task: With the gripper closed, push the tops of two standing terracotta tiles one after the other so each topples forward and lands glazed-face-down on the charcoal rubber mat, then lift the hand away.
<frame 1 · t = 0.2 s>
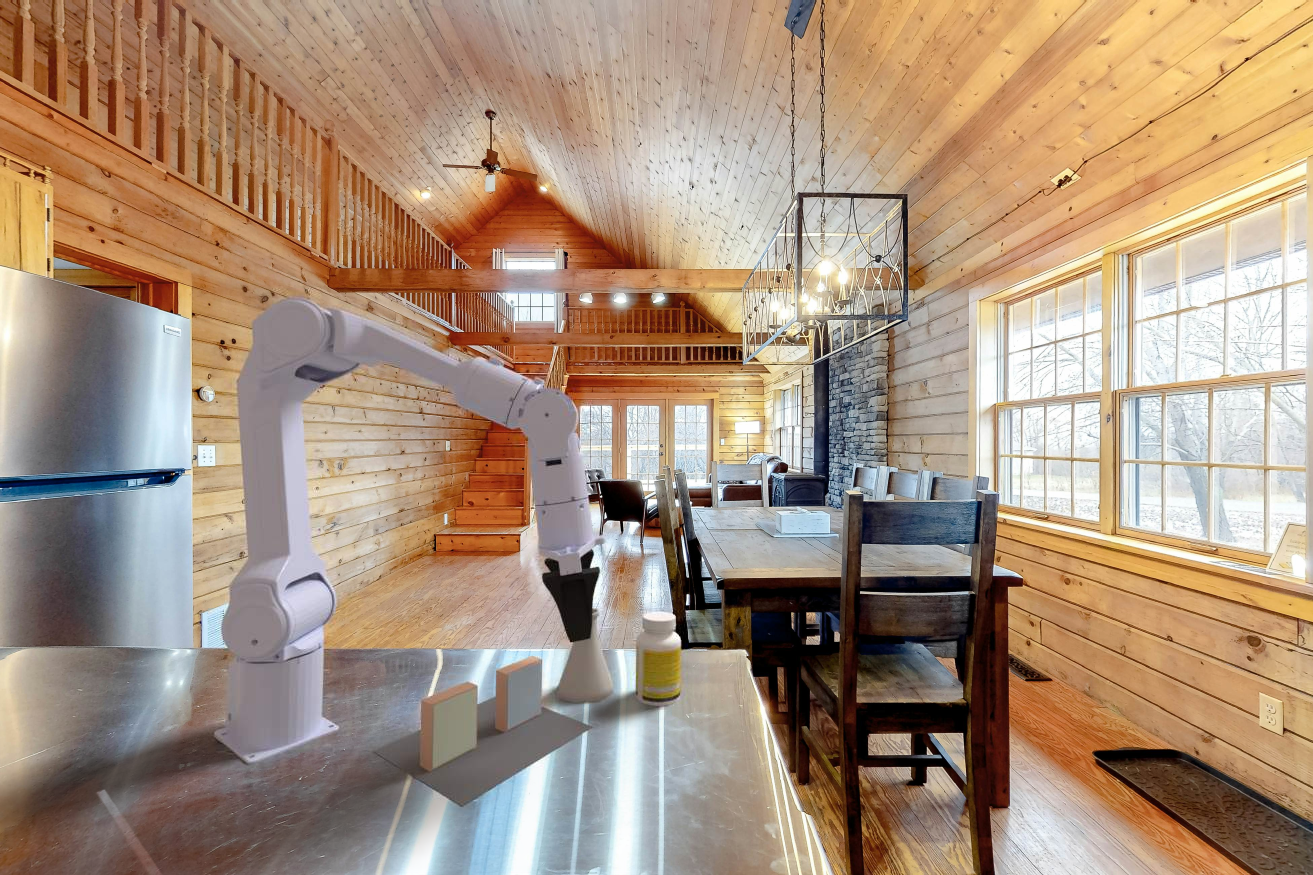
hand: (578, 627, 58), 11 cm above the table, tool pointing down, fingers open, 7 cm apart
tile b: (518, 720, 59), resting on mat
flask: (585, 694, 67), on the table
tile a: (449, 756, 52), resting on mat
mat: (487, 742, 55), on the table
supplement bottle: (658, 700, 66), on the table
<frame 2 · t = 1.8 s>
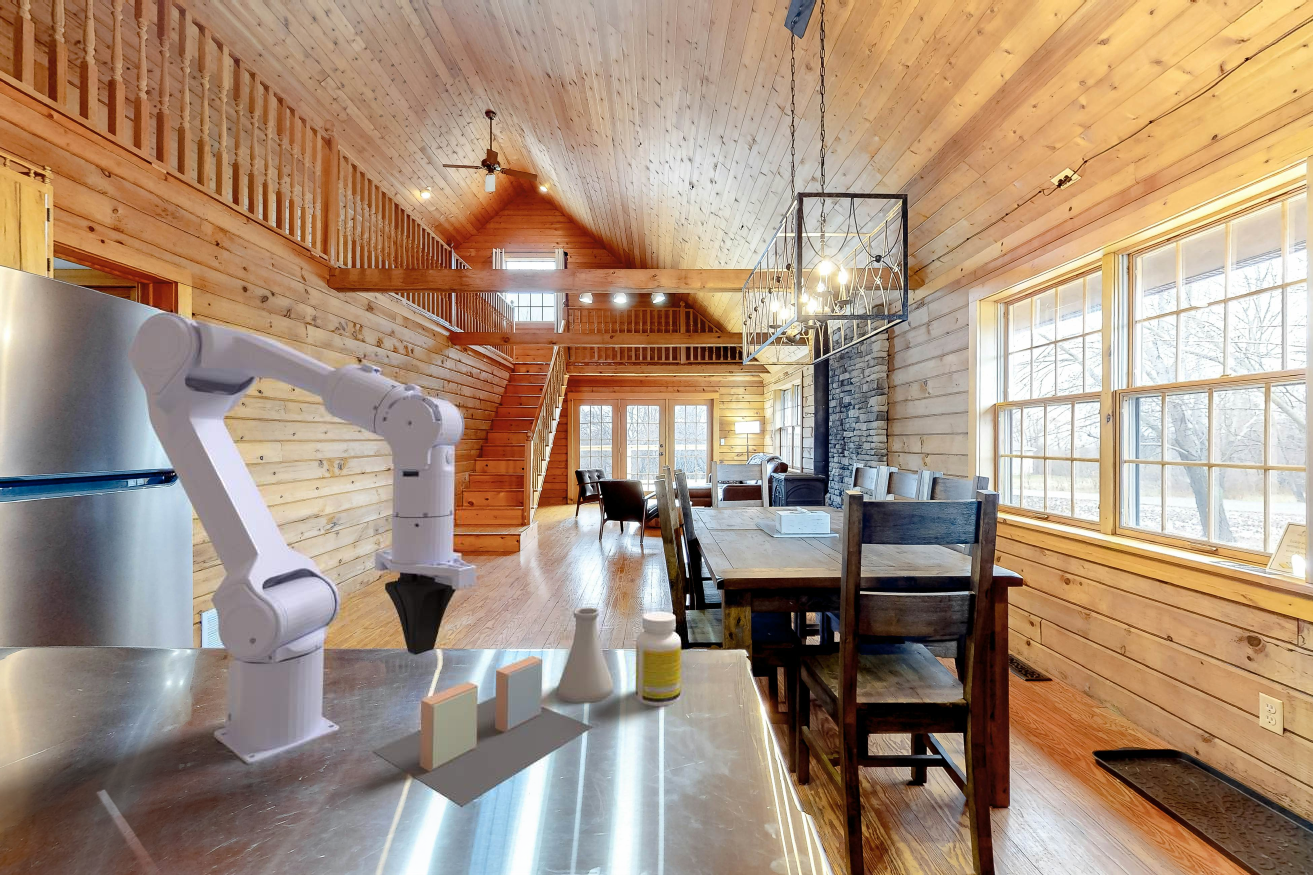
hand: (421, 650, 55), 9 cm above the table, tool pointing down, fingers closed
nothing on the table moved.
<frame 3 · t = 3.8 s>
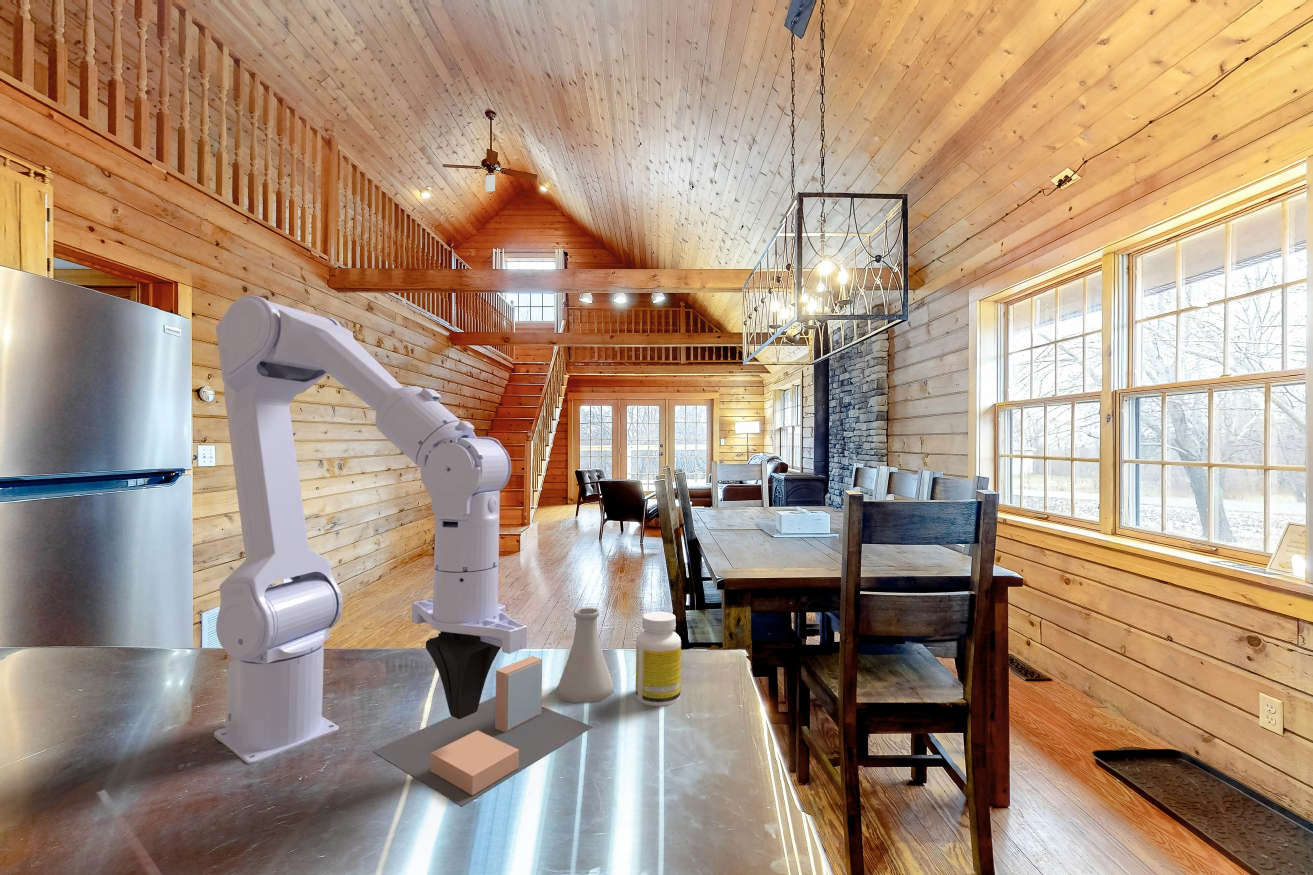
hand: (464, 713, 51), 5 cm above the table, tool pointing down, fingers closed
tile a: (454, 749, 52), point 1 cm above the table, tilted 90°, touching mat
everything else where it was.
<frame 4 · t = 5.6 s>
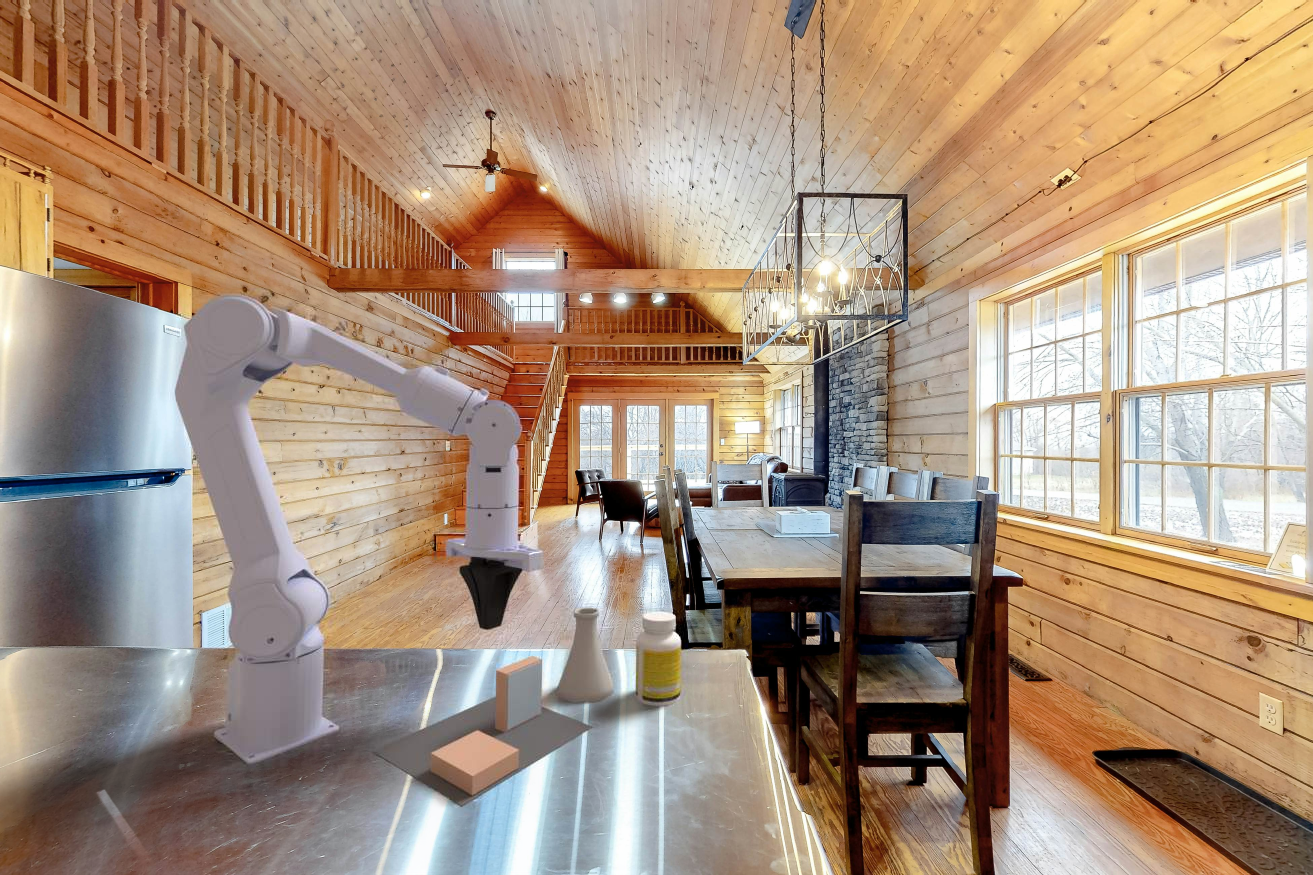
hand: (490, 626, 62), 9 cm above the table, tool pointing down, fingers closed
nothing on the table moved.
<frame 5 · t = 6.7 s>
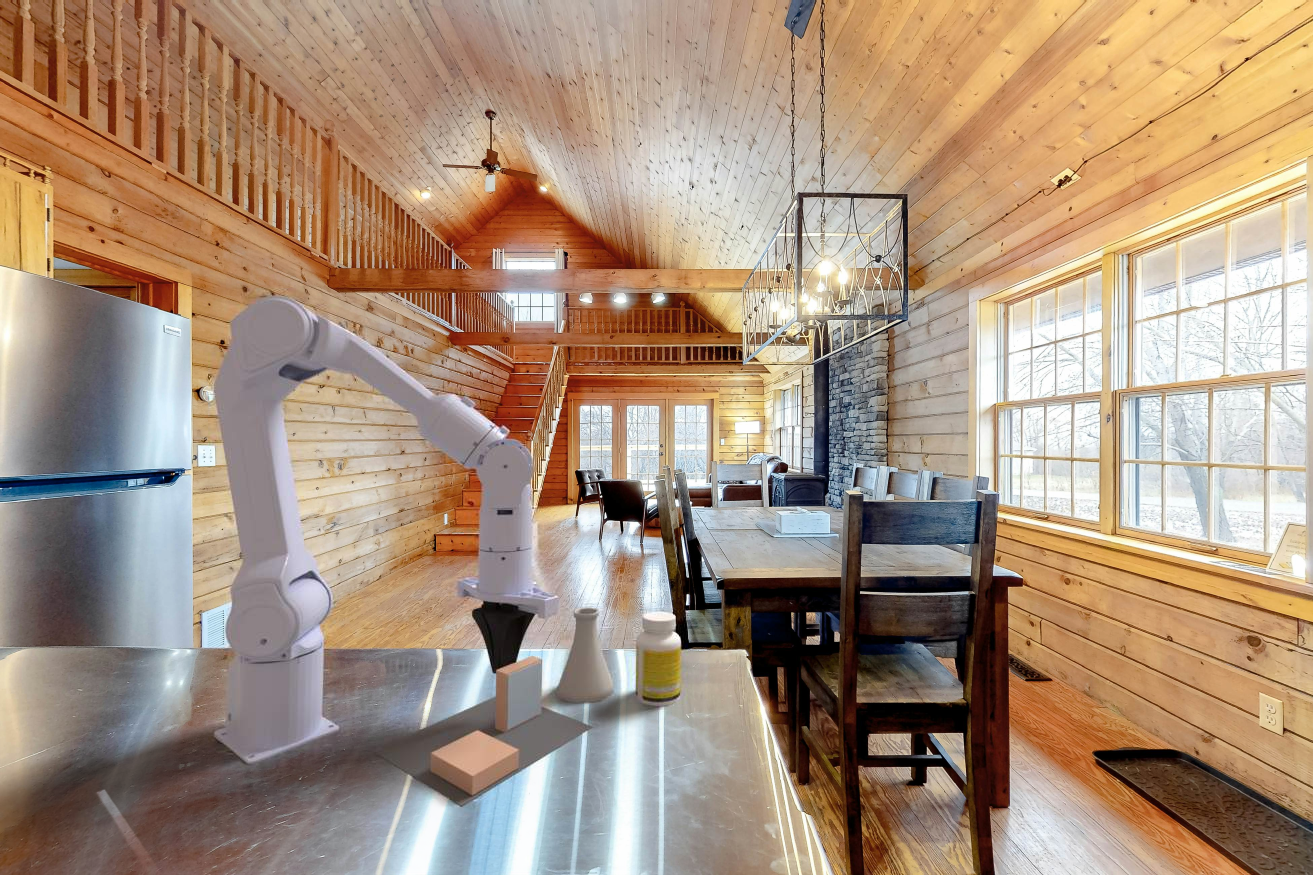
hand: (503, 671, 61), 5 cm above the table, tool pointing down, fingers closed
nothing on the table moved.
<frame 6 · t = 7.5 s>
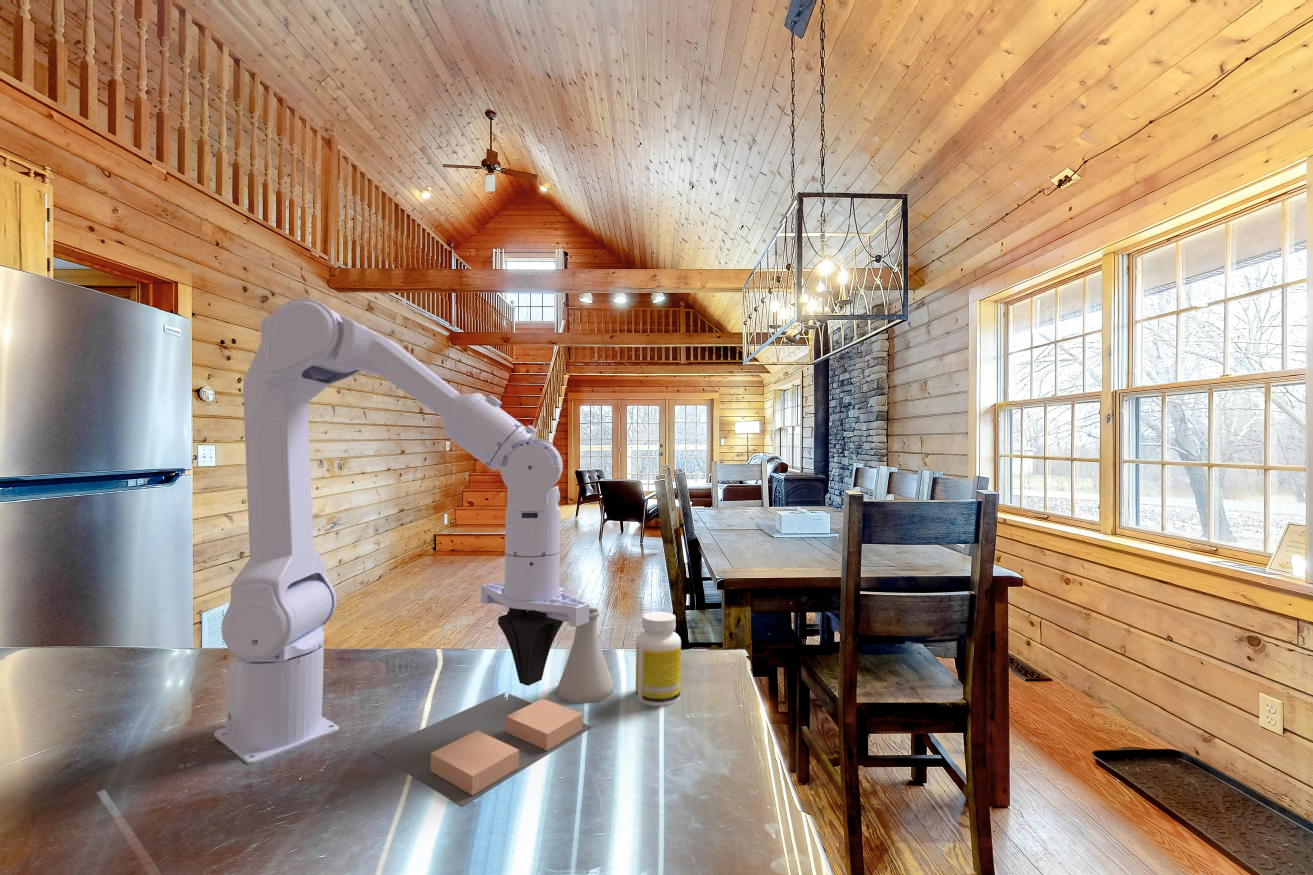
hand: (530, 681, 58), 5 cm above the table, tool pointing down, fingers closed
tile b: (524, 714, 58), point 1 cm above the table, tilted 90°, touching mat
everything else where it was.
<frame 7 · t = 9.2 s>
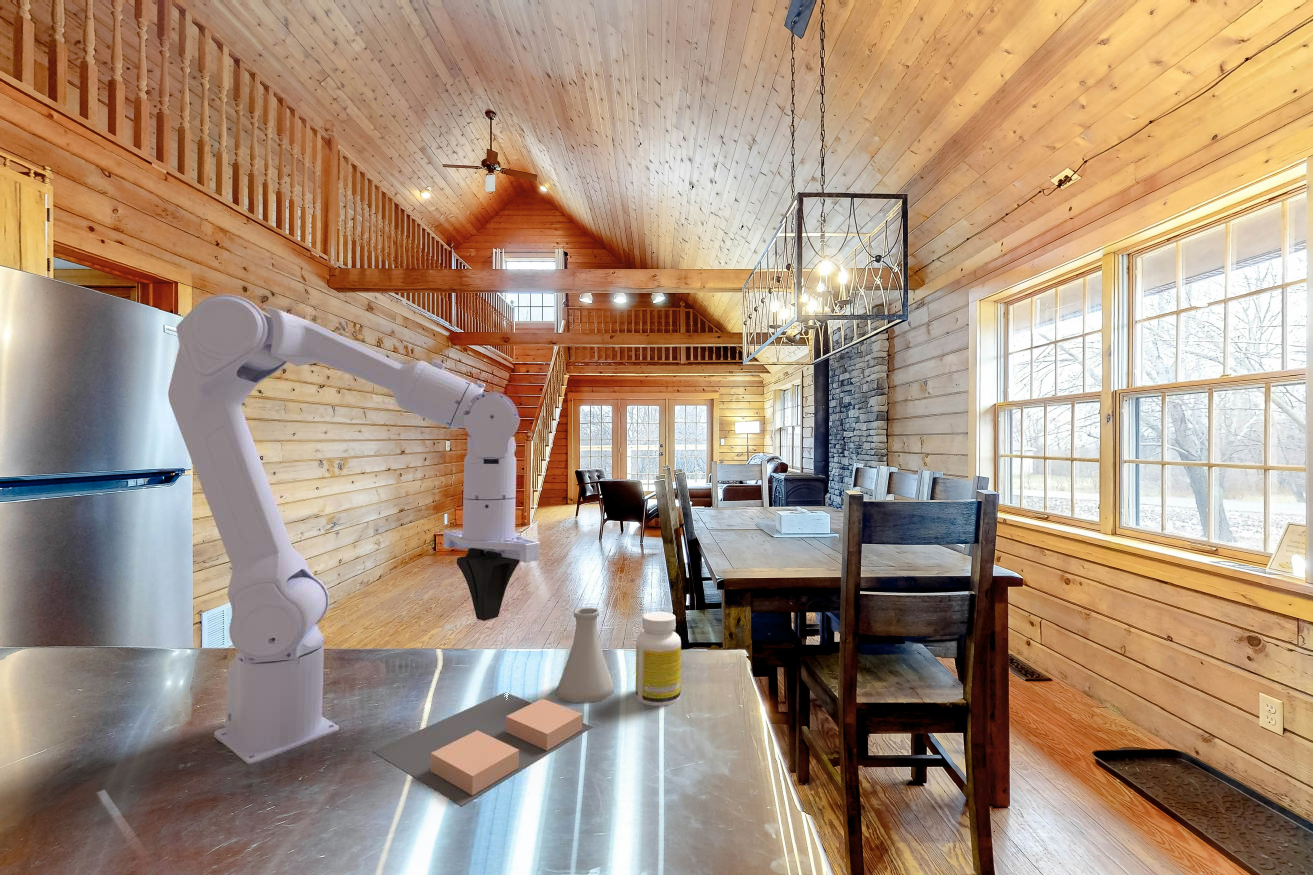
hand: (487, 617, 62), 10 cm above the table, tool pointing down, fingers closed
nothing on the table moved.
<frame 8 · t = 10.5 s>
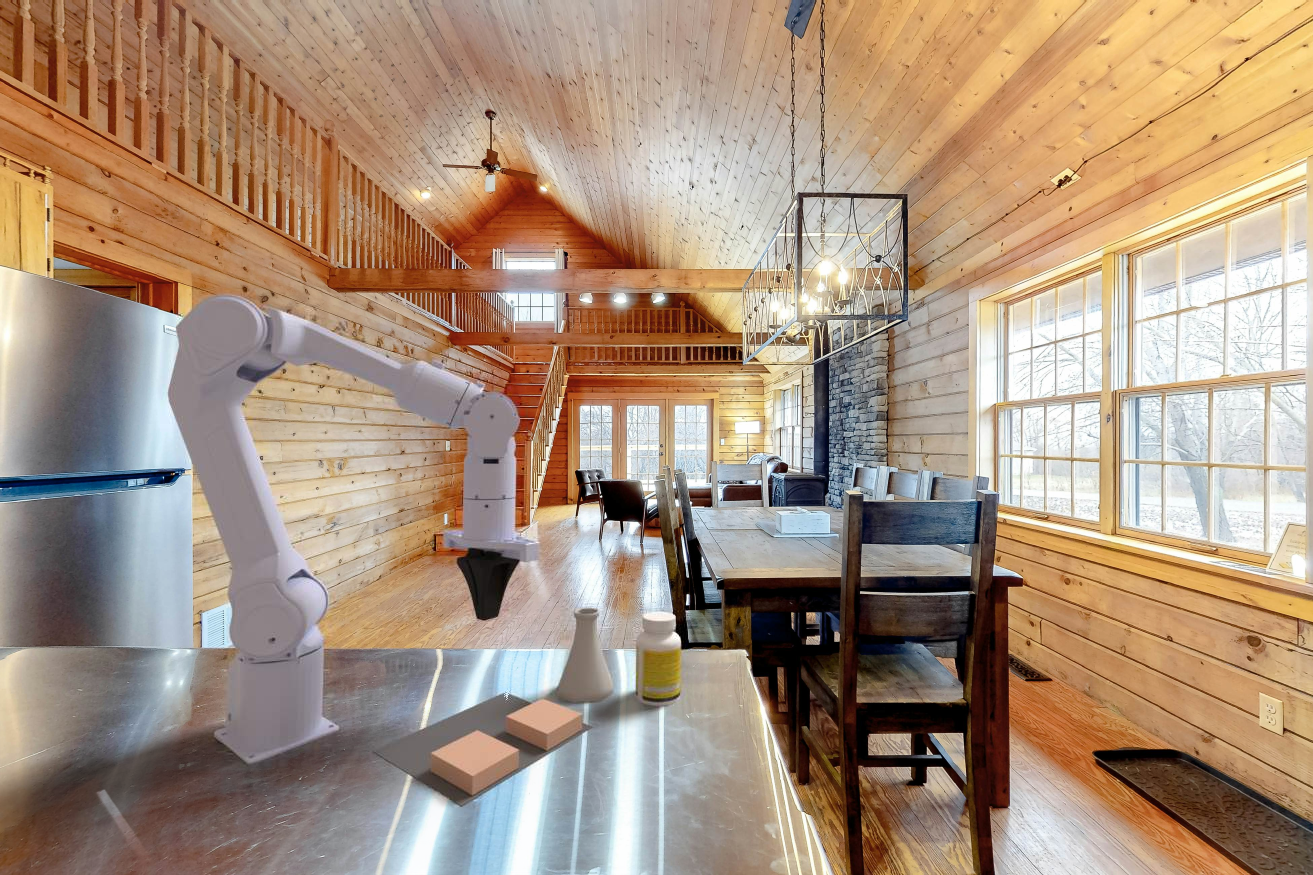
hand: (487, 617, 62), 10 cm above the table, tool pointing down, fingers closed
nothing on the table moved.
at the end: tile a tilted 90°; tile b tilted 90°; tile a inside the target area (3.1 cm from its centre), point 1.3 cm above the table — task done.
